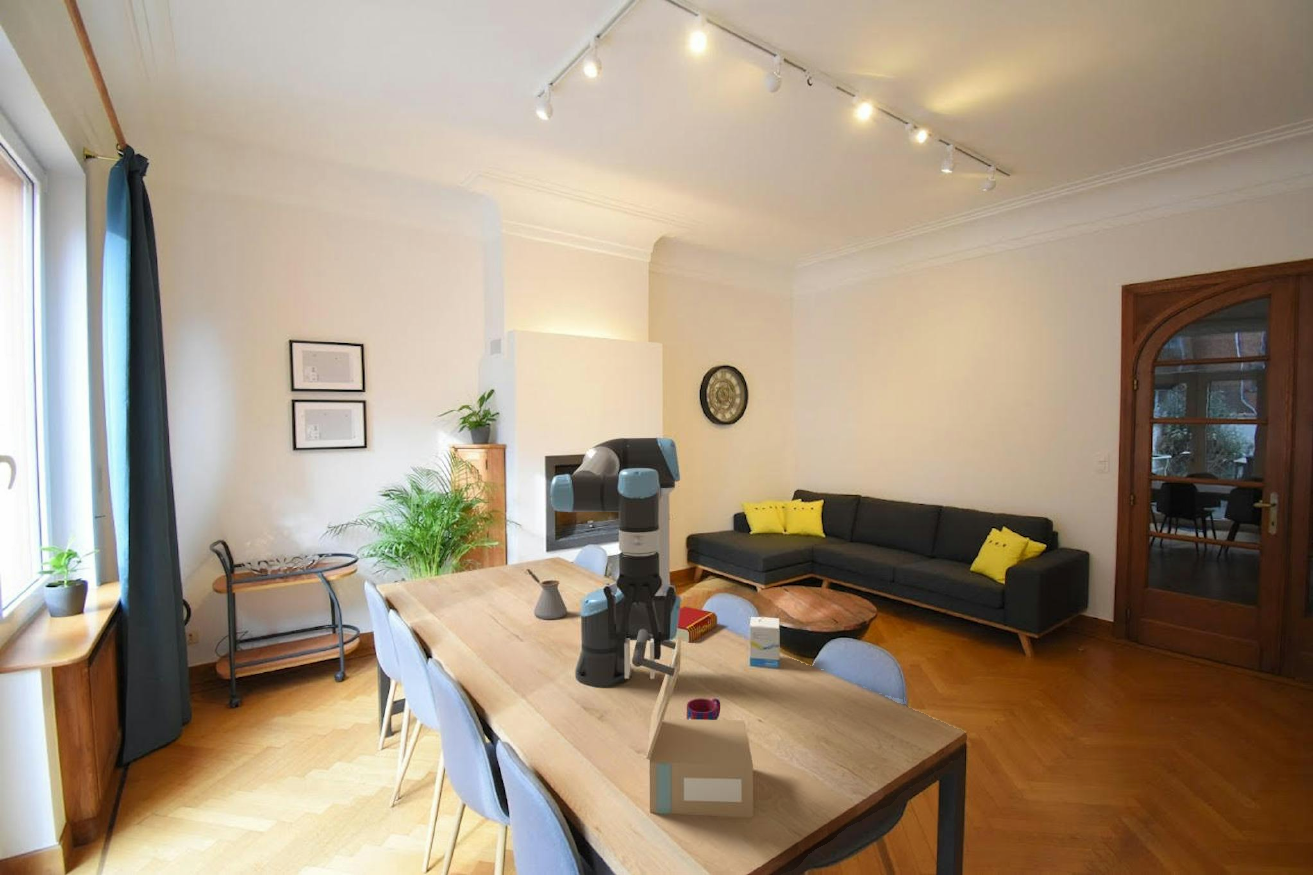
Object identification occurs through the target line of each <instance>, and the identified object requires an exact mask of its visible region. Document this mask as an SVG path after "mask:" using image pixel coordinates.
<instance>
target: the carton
mask: <svg viewBox="0 0 1313 875" xmlns="http://www.w3.org/2000/svg"><path fill="white" fill-rule="evenodd" d="M750 748H751V747H750V743H749V737H748V732H747V726H746V722H745V720H740V719H739V720H737V719H736V720H733V719H717V720H695V719H687V718H685V719H684V718H683V719H682V718H664V719H663V722H662V725H661V728H660V731H659V733H658V736H657V739H656V742H655V745H654V748H653V751H652V754H651V757H650V760H649V813H654V814H659V815H672V814H673V815H674V814H675V815H689V816H690V815H693V816H710V817H712V816H713V817H728V818H750V819H752V818H754V763H753V759H752V753H751V749H750Z"/></svg>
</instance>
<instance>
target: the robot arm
mask: <svg viewBox="0 0 1313 875" xmlns="http://www.w3.org/2000/svg"><path fill="white" fill-rule="evenodd" d="M679 481H681V475H680V467H679V458H678V453H677V445H676V442H675V441H674V440H673V439H671V438H667V437H666V438H665V437H628V438H625V437H620V438H614V439H609V440H606V441H604V442H601V443H599V444H597V445H595V446H593V447H592V448H590V449H588V451H587V452H586V453H585V455H584V456H583V459H582V464H580V466H579V467H578V468H577V469H576V470H575V471H574V472H573V474H569V473H565V474H559V475H555V476H553V478H552V480H551V484H550V505H551V506H552V509H554V511H556V512H567V513H578V512H579V513H589V512H593V513H595V512H606V513H607V512H609V513H612V512H613V513H614V512H615V513H616V512H617V513H618V522H619V523H618V549H619V551H620V553H619V554H618V578H617V579H616V581H615V582H612V583H606V584H605V585H604V587H603V588H600V589H597V590H593V591H592V592H589V593H588V594H586V595H585V596H584V597H582V600H581V609H580V616H581V617H580V621H581V622H580V623H581V625H580V628H581V630H580V631H581V651H580V653H579V658H578V661H577V664H576V667H575V672H574V674H575V675H574V677H575V679H576V681H577V682H579V683H580V684H582V685H584V686H588V687H593V688H611V687H616V686H620V685H623V684H624V683H626V682H628V681H630V679H631V678H632V666H631V641H637V636H638V632H639V631H640V630H641V629H645V630H647V632H648V633H649V634H652V635H653V639H651V641H648V640H647V642H649V660H651V661H654V662H656V661H657V660H660V659H661V657H662V656H661V655H662V647H661V646H662V645H661V642H662V641H664V640H670V641H672V640H675V639H674V638H675V637H676V634H677V628H678V621H679V612H680V609H681V598H682V597H681V596H680V595H678V594H676V586H675V584H673V583H671V579H670V578H671V577H670V576H671V575H670V573H671V572H670V571H671V570H670V563H671V562H670V547H671V546H670V494H671V493H672V491H674V490H675V489H676V483H678V482H679ZM649 675H650V676H649V679H651V680H654V679H655V676H656V670H653V669H650V668H649Z"/></svg>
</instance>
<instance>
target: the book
mask: <svg viewBox="0 0 1313 875" xmlns="http://www.w3.org/2000/svg"><path fill="white" fill-rule="evenodd" d="M717 626H718V615H717V614H716V612H713V611H708V610H704V609H699V608H694V607H689V606H683V607H680V612H679V621H678V628H677V634H676V637H675V638H674V639H673V640H677V639H678V637H680V638H681V642H686V643H692V642H693V641H695V640H696V639H699V637H701V636H702V635H704V634H705V633H707V632H709V631H710V630H711V629H713V628H715V627H717Z"/></svg>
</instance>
